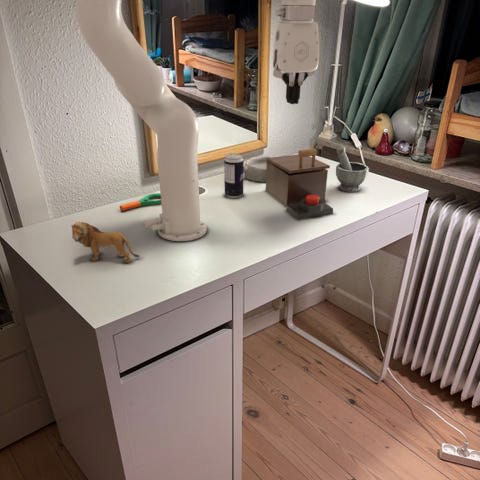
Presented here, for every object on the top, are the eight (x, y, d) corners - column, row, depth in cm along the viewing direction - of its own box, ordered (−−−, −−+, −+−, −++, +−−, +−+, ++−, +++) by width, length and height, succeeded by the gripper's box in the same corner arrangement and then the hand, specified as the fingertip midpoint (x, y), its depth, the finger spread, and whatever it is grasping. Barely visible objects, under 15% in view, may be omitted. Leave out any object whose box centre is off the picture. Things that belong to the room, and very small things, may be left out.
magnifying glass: (159, 195, 148) (159, 190, 147) (171, 201, 144) (171, 195, 143) (115, 208, 139) (115, 202, 138) (127, 214, 136) (126, 208, 135)
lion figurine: (74, 263, 112) (66, 227, 107) (80, 252, 116) (73, 217, 111) (137, 263, 112) (133, 227, 107) (141, 253, 116) (137, 217, 111)
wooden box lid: (329, 168, 138) (331, 148, 135) (290, 173, 134) (290, 153, 131) (303, 156, 150) (304, 137, 147) (266, 160, 146) (266, 142, 143)
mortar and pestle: (371, 188, 153) (377, 149, 147) (354, 196, 148) (360, 156, 141) (341, 180, 160) (345, 142, 153) (324, 187, 154) (328, 148, 147)
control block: (299, 221, 132) (300, 208, 130) (286, 210, 138) (287, 198, 136) (334, 215, 136) (335, 203, 134) (320, 205, 142) (321, 193, 140)
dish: (290, 173, 166) (291, 158, 163) (277, 185, 155) (278, 170, 152) (251, 167, 170) (251, 153, 167) (236, 180, 160) (236, 164, 157)
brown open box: (324, 201, 144) (328, 170, 139) (286, 207, 140) (288, 175, 135) (301, 185, 155) (303, 156, 150) (265, 190, 151) (266, 160, 146)
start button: (309, 206, 133) (310, 200, 132) (303, 201, 136) (303, 195, 135) (321, 204, 134) (321, 198, 133) (314, 200, 137) (315, 194, 136)
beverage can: (243, 199, 146) (243, 158, 139) (224, 199, 146) (223, 158, 139) (243, 192, 150) (243, 153, 143) (225, 192, 150) (224, 152, 143)
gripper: (274, 16, 104) (271, 108, 114) (335, 15, 108) (326, 103, 119) (260, 14, 109) (258, 102, 120) (318, 13, 114) (311, 98, 125)
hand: (292, 102), depth 119 cm, fingers closed
